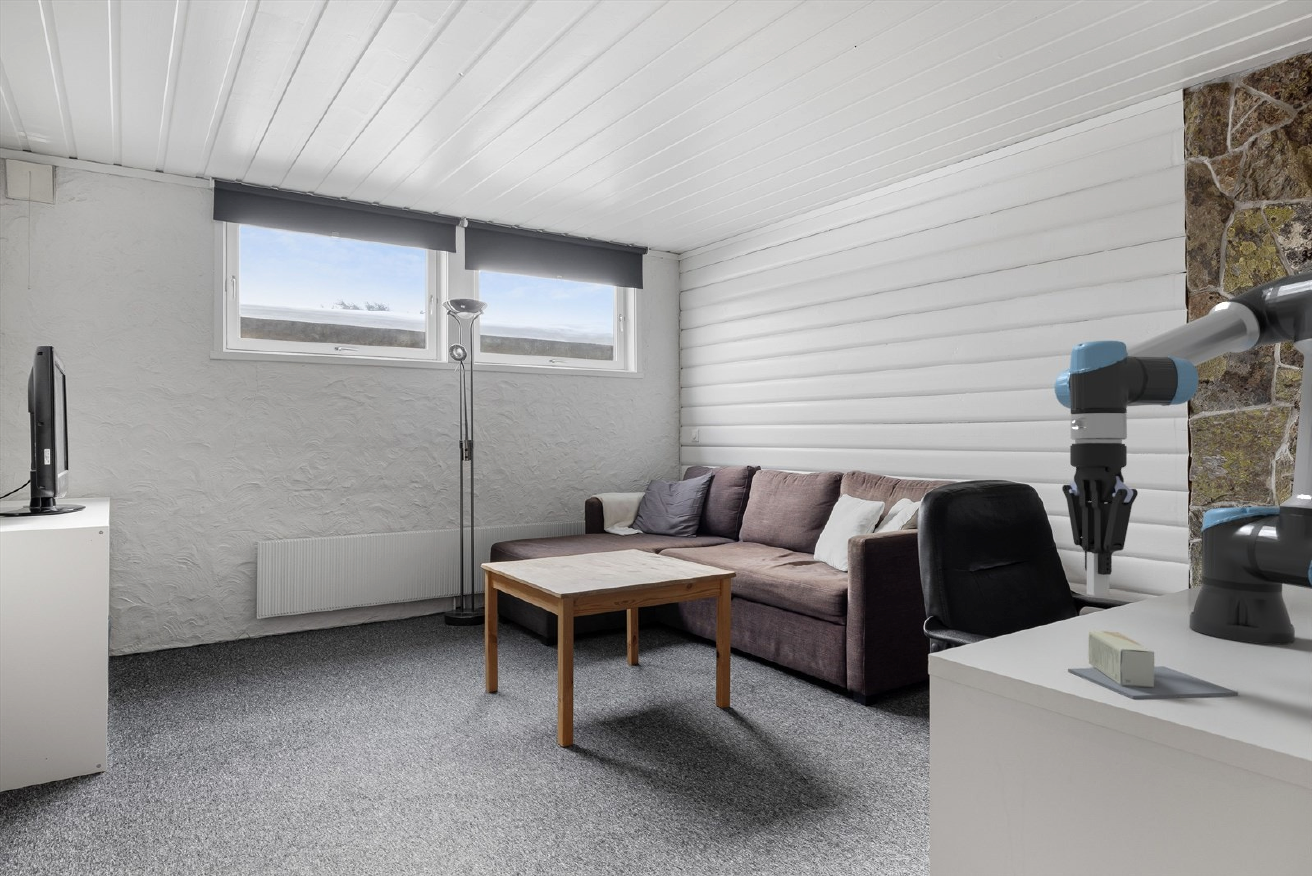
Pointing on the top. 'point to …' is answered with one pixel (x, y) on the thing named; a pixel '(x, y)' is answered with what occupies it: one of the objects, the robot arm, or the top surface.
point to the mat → (1158, 684)
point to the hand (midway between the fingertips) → (1098, 594)
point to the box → (1121, 659)
